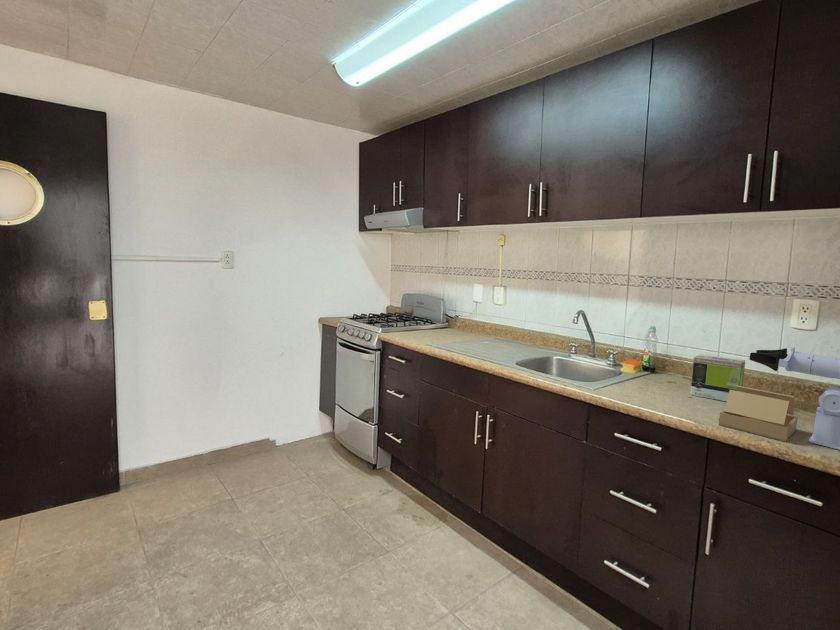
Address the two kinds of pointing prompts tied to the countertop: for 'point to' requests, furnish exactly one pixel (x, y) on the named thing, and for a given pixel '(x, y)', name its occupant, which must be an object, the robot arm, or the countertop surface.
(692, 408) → the countertop surface
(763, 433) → the carton
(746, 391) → the flap
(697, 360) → the tea box
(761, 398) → the flap
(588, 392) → the countertop surface
